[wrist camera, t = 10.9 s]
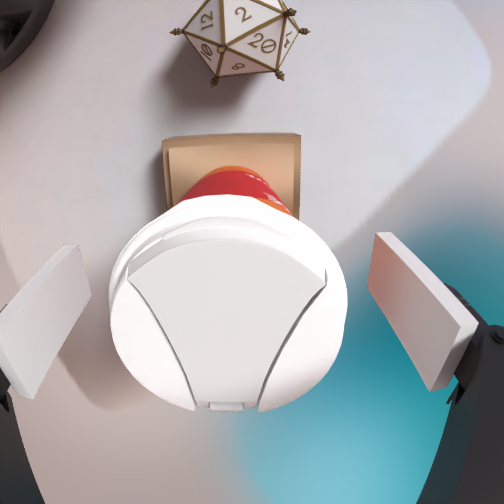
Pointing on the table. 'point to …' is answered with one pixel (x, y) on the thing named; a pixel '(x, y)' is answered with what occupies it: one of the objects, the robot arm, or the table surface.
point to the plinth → (234, 162)
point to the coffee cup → (227, 299)
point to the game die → (242, 36)
